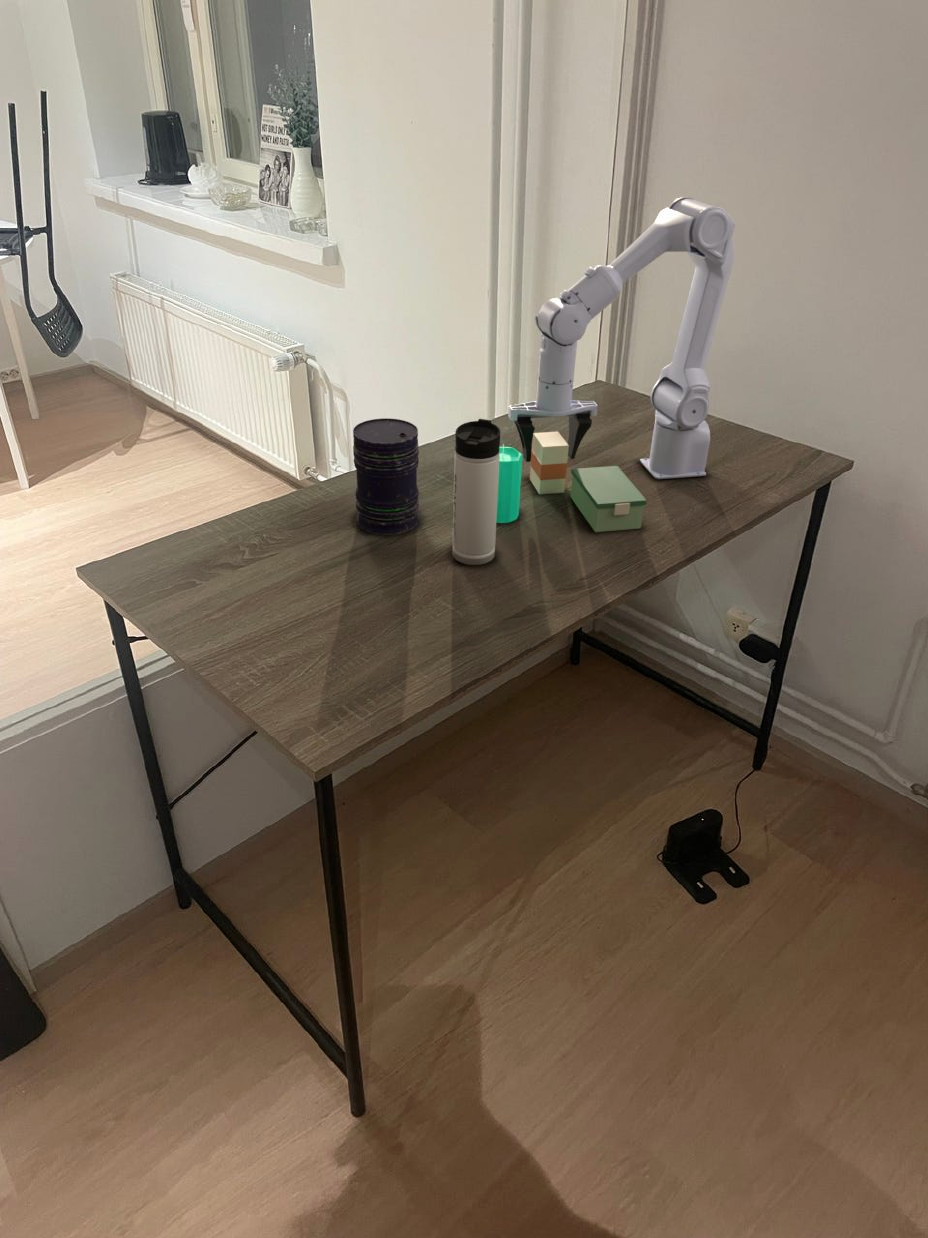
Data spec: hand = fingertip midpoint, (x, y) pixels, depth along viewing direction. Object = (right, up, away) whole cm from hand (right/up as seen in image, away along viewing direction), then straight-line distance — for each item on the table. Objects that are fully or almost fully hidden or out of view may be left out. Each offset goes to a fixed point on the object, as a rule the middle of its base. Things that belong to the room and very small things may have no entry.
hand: (548, 457), depth 152 cm
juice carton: (0, -4, +3) cm, 5 cm away
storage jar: (-26, -12, -9) cm, 30 cm away
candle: (-8, -10, -6) cm, 15 cm away
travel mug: (-13, -18, -17) cm, 28 cm away
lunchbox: (+9, -10, -5) cm, 14 cm away
